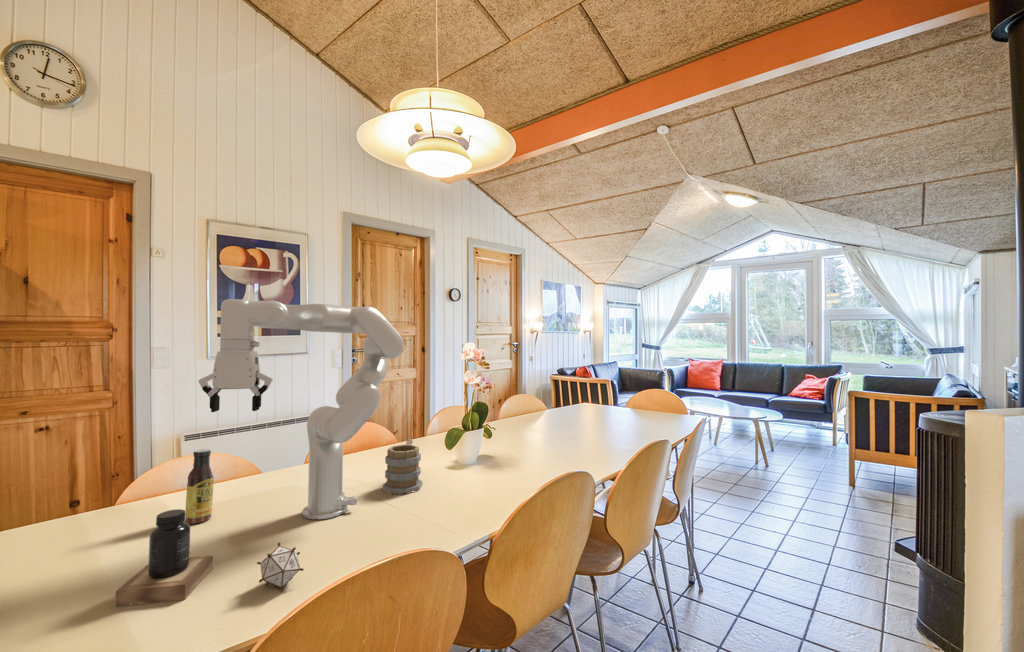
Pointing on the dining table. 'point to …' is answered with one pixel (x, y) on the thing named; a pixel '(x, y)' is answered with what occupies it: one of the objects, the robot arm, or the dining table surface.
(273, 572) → the game die
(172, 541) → the supplement bottle
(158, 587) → the walnut base
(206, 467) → the sauce bottle
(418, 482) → the tankard
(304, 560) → the dining table surface
